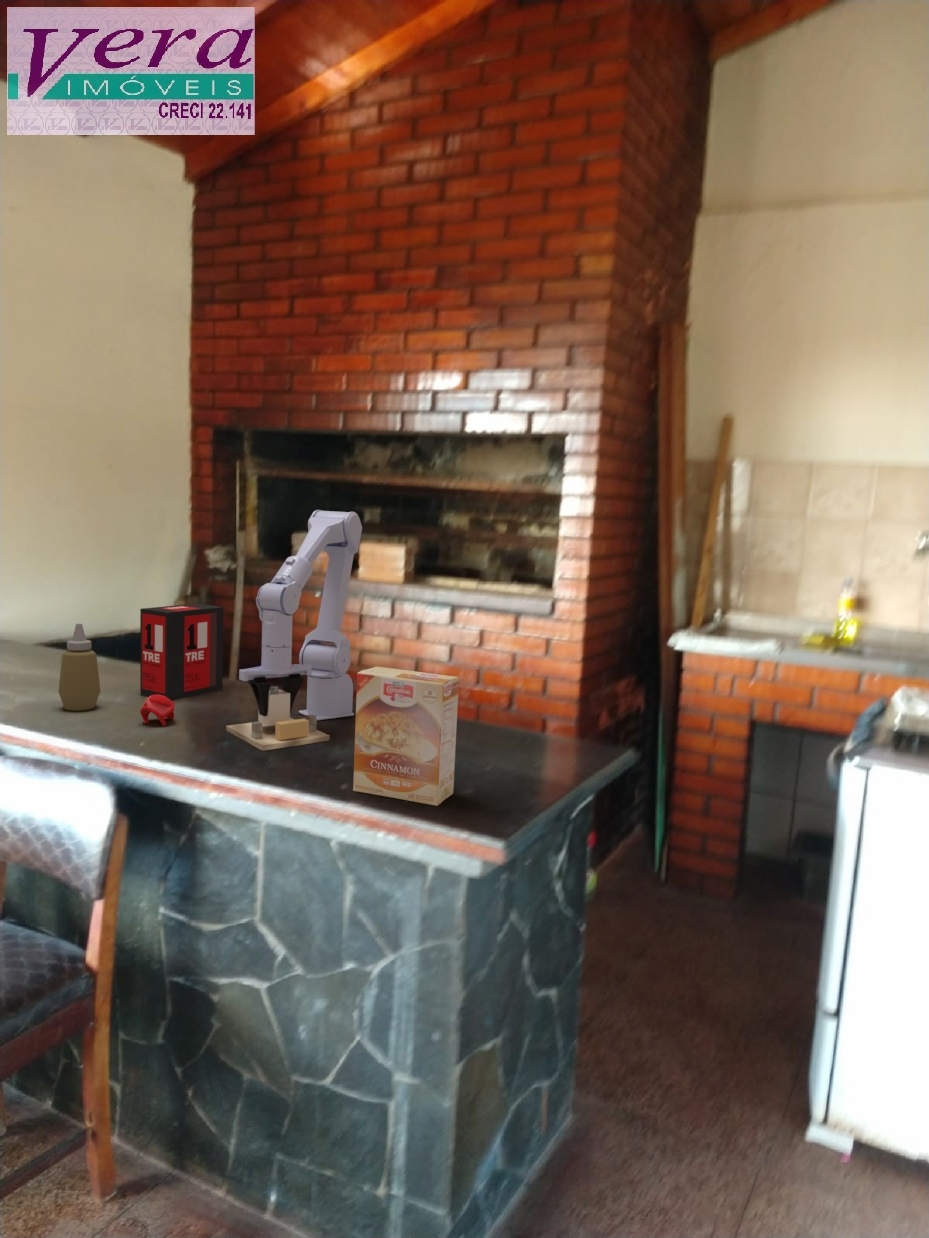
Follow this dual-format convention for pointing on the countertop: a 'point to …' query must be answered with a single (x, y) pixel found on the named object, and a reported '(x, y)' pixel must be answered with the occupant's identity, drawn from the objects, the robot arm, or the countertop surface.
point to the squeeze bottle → (79, 674)
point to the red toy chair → (158, 708)
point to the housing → (276, 707)
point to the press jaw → (291, 729)
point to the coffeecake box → (405, 734)
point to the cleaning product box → (181, 650)
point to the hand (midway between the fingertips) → (275, 713)
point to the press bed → (266, 739)
